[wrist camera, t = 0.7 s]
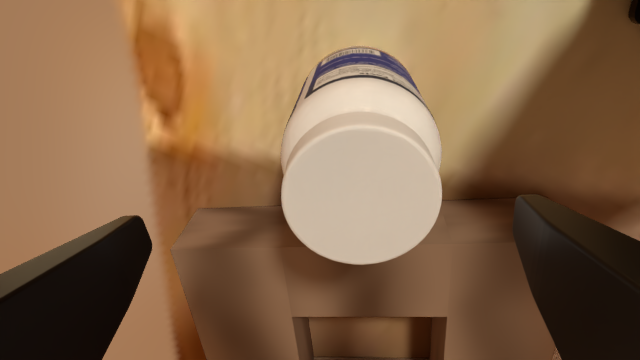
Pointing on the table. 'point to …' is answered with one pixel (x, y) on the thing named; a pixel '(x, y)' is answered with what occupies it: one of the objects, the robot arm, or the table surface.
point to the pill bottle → (360, 159)
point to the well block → (359, 286)
